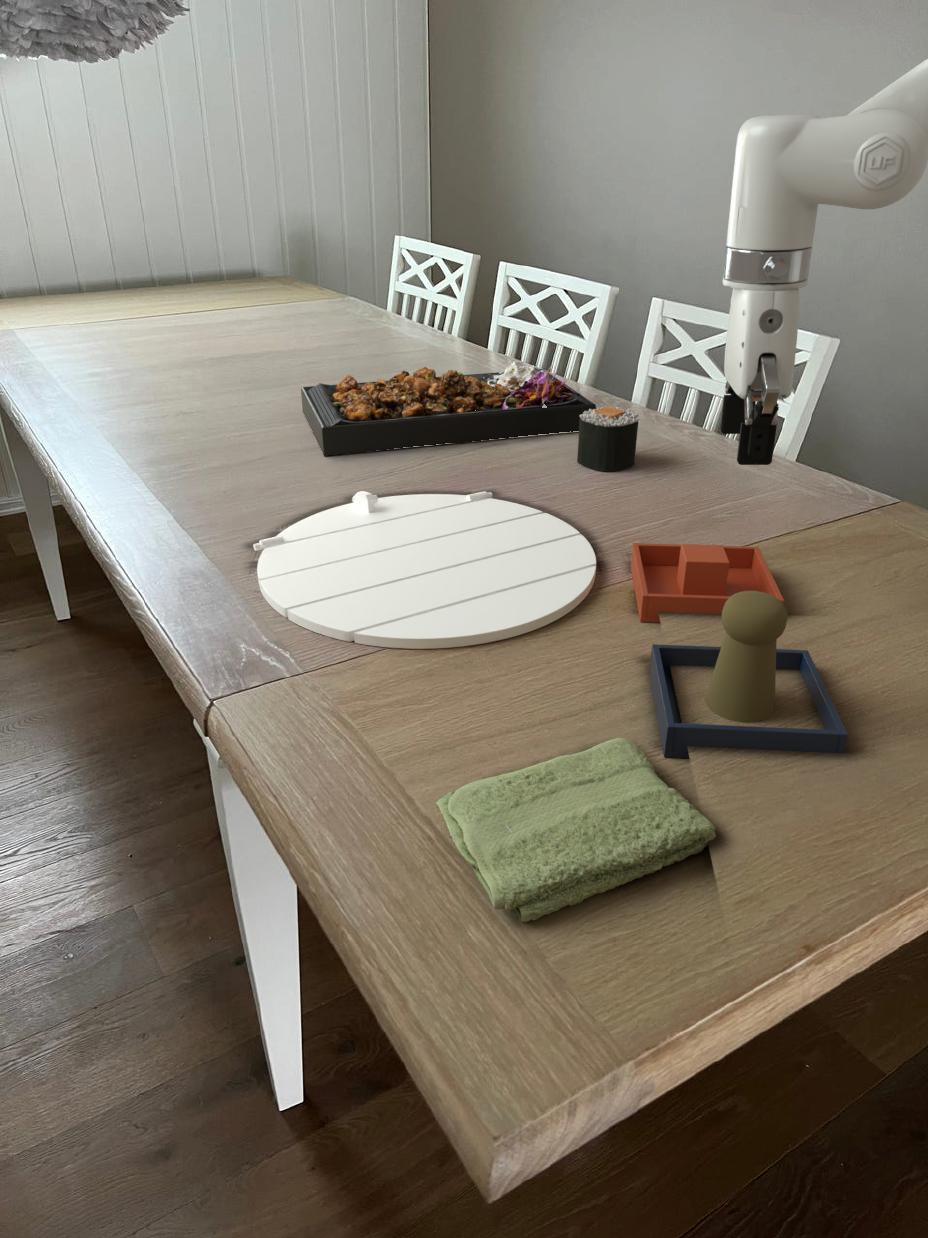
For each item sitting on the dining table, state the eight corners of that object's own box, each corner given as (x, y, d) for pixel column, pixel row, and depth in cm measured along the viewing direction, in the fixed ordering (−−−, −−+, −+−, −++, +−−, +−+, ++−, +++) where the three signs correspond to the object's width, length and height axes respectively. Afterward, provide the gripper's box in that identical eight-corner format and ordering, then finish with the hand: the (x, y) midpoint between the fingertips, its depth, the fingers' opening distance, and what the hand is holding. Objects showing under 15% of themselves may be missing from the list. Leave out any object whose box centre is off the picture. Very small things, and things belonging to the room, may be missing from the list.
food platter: (542, 392, 174) (544, 336, 169) (594, 430, 153) (598, 368, 148) (302, 412, 163) (297, 352, 158) (324, 456, 142) (318, 389, 137)
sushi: (567, 461, 140) (570, 409, 136) (604, 450, 144) (608, 399, 141) (607, 475, 134) (612, 422, 130) (644, 463, 139) (649, 410, 135)
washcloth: (426, 814, 70) (425, 780, 68) (626, 756, 76) (629, 724, 75) (501, 939, 59) (502, 902, 58) (726, 860, 66) (732, 825, 64)
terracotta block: (717, 581, 103) (722, 544, 101) (724, 600, 99) (729, 562, 97) (676, 580, 103) (680, 543, 101) (681, 599, 99) (686, 561, 97)
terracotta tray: (754, 571, 107) (758, 546, 105) (779, 627, 95) (784, 600, 94) (630, 567, 108) (632, 542, 106) (640, 622, 96) (642, 595, 95)
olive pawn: (764, 737, 77) (786, 622, 72) (694, 717, 80) (710, 604, 75) (781, 702, 82) (803, 591, 77) (714, 683, 85) (730, 576, 79)
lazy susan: (211, 538, 115) (208, 512, 114) (479, 481, 133) (479, 458, 131) (342, 689, 85) (340, 657, 83) (667, 590, 102) (670, 561, 101)
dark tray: (802, 678, 86) (808, 649, 85) (840, 765, 75) (848, 734, 73) (648, 672, 88) (651, 644, 86) (663, 757, 76) (667, 726, 75)
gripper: (833, 281, 77) (803, 477, 85) (786, 254, 92) (765, 422, 100) (741, 283, 78) (720, 477, 86) (710, 255, 93) (694, 422, 101)
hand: (744, 447), depth 93 cm, fingers open, 9 cm apart
